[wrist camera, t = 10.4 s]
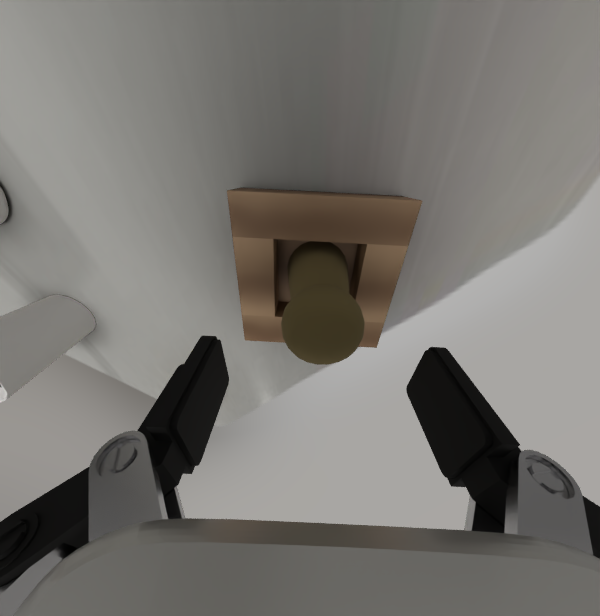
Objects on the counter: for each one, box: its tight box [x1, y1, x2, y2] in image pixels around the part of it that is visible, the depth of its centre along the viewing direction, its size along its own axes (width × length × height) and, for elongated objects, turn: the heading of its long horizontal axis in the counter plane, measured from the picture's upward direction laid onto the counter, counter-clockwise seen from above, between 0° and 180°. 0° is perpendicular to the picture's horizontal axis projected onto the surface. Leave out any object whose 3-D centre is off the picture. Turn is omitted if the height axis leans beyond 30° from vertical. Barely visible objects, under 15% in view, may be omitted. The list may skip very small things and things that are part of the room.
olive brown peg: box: [281, 241, 365, 364], centre depth 17 cm, size 6×6×11 cm
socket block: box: [227, 188, 422, 348], centre depth 21 cm, size 14×14×4 cm
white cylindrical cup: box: [0, 295, 96, 402], centre depth 23 cm, size 7×7×10 cm
